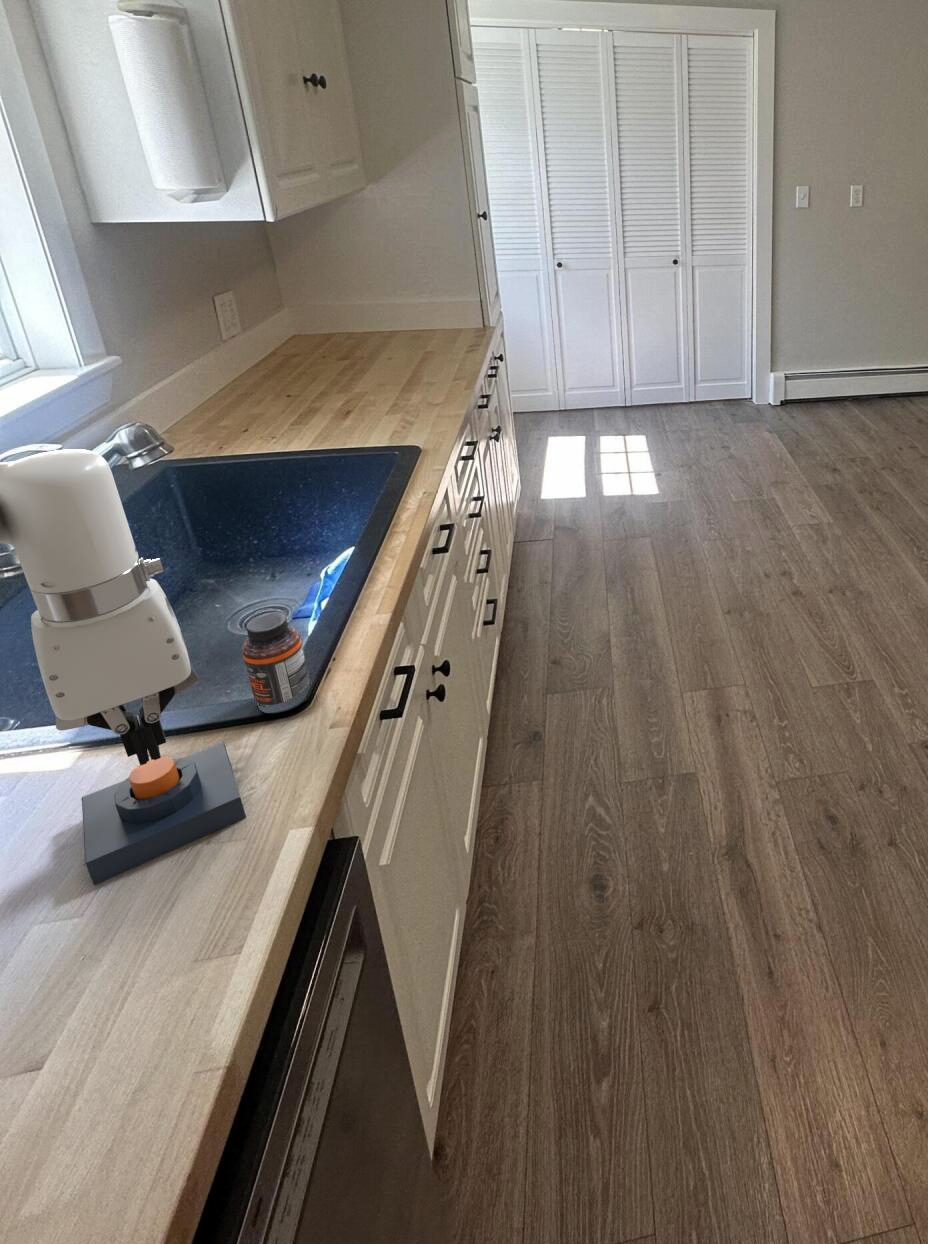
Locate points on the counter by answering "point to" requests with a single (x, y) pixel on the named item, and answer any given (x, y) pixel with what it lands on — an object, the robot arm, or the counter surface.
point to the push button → (154, 778)
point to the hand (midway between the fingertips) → (149, 753)
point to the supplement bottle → (274, 659)
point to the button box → (159, 815)
